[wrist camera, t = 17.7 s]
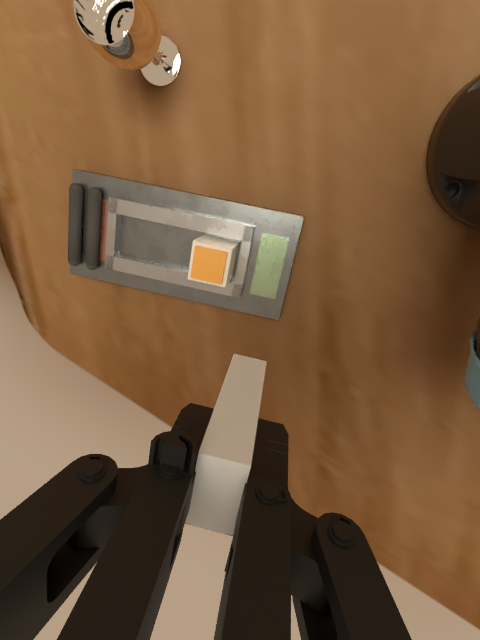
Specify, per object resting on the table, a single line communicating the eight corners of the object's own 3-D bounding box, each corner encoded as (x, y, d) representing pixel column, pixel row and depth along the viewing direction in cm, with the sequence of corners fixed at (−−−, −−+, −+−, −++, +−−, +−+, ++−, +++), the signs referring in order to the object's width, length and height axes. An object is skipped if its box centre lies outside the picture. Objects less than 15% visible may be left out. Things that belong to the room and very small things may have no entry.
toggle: (204, 234, 41) (191, 241, 36) (239, 242, 41) (231, 249, 35) (199, 269, 42) (185, 280, 37) (232, 276, 42) (224, 289, 37)
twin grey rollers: (74, 181, 41) (66, 181, 40) (104, 188, 41) (98, 188, 39) (72, 263, 44) (65, 265, 43) (100, 269, 44) (94, 272, 43)
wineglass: (145, 16, 37) (80, -61, 25) (196, 45, 37) (154, -19, 26) (125, 76, 39) (56, 30, 27) (173, 104, 39) (125, 69, 28)
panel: (82, 170, 42) (66, 168, 39) (303, 215, 41) (304, 217, 38) (79, 270, 47) (64, 275, 44) (279, 315, 45) (278, 323, 42)
